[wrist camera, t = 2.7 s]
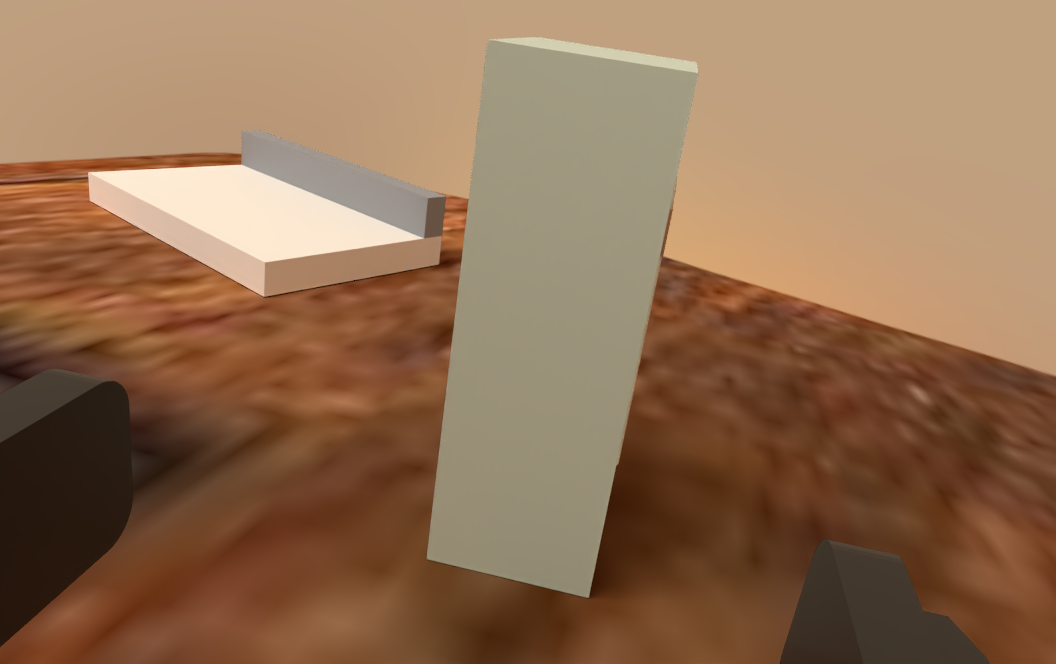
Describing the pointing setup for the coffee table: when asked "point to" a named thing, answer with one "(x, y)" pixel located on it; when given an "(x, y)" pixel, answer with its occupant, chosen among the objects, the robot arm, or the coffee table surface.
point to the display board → (281, 216)
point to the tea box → (553, 302)
